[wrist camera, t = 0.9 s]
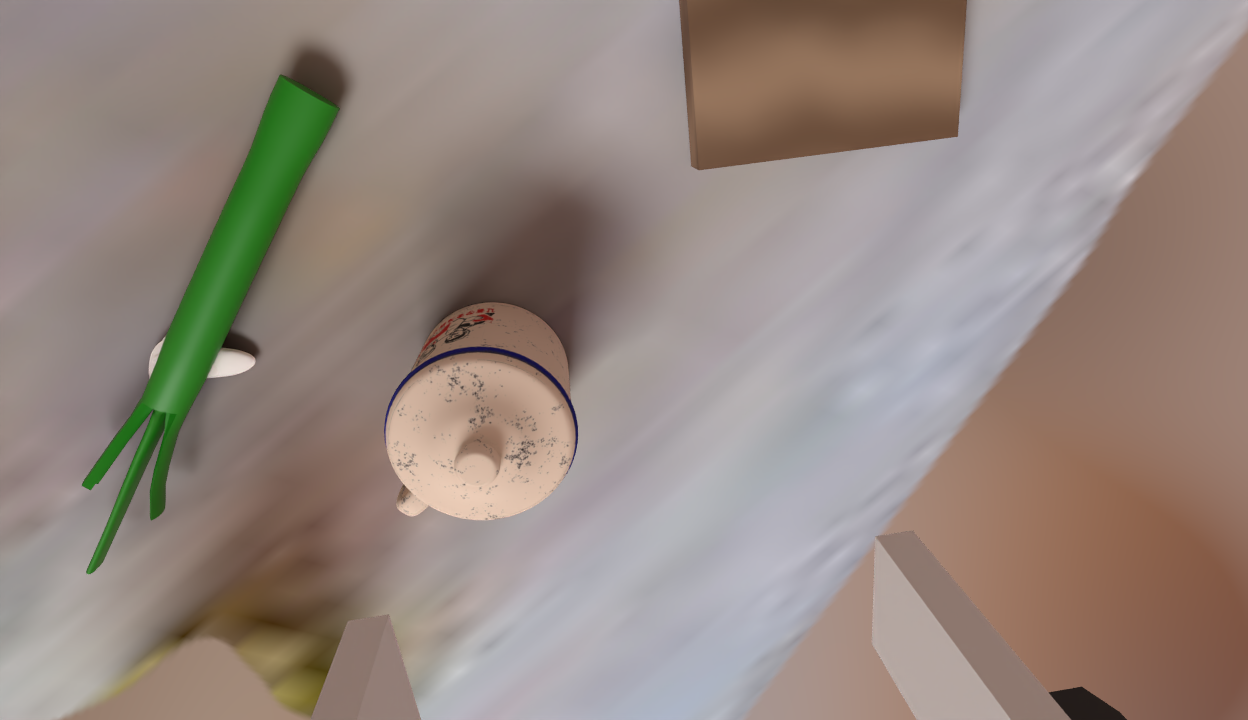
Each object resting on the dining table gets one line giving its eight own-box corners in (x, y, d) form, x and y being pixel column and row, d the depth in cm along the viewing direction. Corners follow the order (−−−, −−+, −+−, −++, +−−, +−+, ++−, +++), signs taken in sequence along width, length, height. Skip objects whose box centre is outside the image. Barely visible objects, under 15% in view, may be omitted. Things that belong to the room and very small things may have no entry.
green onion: (284, 71, 34) (74, 531, 41) (261, 66, 31) (37, 564, 38) (375, 125, 36) (158, 561, 42) (361, 125, 33) (130, 596, 39)
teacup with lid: (479, 264, 38) (453, 331, 27) (603, 359, 41) (623, 454, 30) (356, 416, 41) (287, 532, 30) (481, 495, 43) (458, 629, 33)
